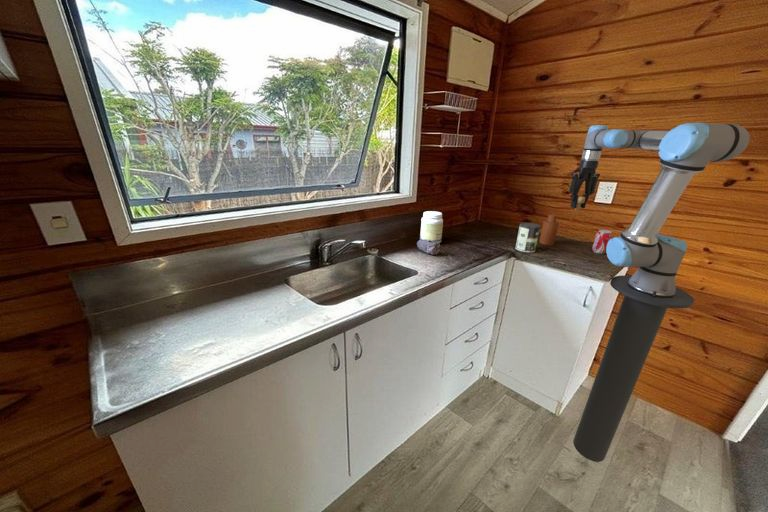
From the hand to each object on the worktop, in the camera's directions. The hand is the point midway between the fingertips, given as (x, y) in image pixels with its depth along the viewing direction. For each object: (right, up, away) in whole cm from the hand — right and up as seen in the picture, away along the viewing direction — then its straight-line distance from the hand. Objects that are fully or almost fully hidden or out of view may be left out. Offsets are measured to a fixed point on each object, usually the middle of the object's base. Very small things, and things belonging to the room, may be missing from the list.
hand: (577, 207), depth 155 cm
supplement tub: (-72, -17, +20) cm, 77 cm away
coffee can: (-21, -21, +12) cm, 32 cm away
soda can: (+18, -23, +10) cm, 31 cm away
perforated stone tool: (-77, -23, +3) cm, 80 cm away
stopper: (0, -1, 0) cm, 1 cm away
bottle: (-3, -17, +24) cm, 29 cm away
